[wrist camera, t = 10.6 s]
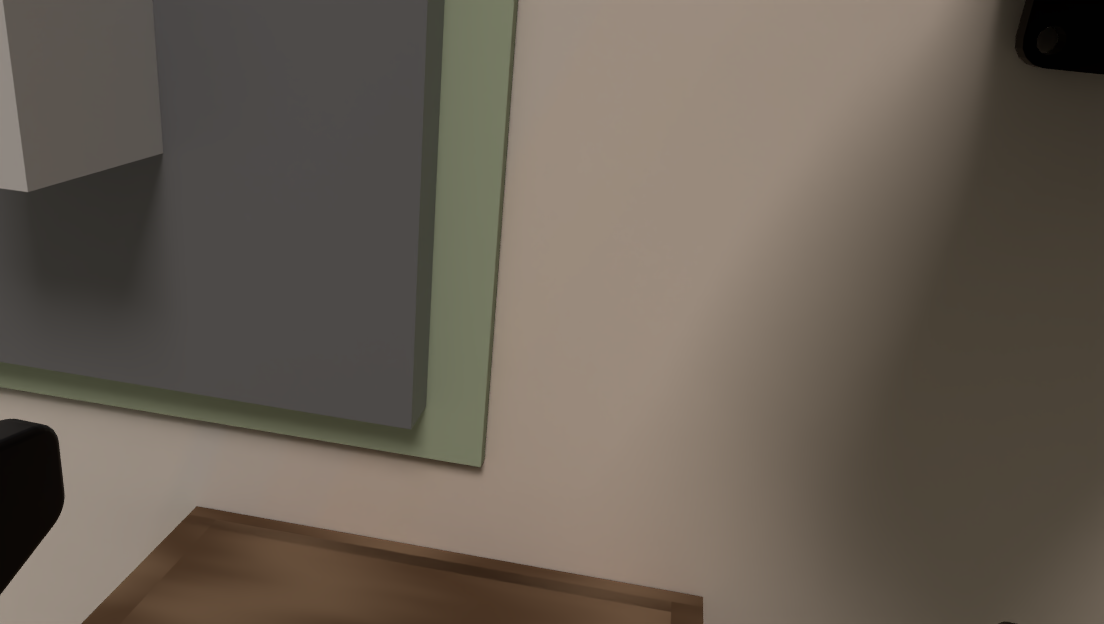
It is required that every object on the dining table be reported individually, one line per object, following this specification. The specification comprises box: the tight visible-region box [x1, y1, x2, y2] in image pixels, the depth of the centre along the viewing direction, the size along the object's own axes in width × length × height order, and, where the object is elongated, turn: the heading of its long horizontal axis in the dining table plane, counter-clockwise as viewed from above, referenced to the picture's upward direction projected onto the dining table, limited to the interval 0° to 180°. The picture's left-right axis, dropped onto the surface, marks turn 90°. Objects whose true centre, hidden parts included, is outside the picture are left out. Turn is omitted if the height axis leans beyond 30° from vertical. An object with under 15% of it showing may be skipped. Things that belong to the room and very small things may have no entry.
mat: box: [0, 0, 518, 467], centre depth 19 cm, size 18×18×1 cm
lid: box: [0, 0, 445, 429], centre depth 17 cm, size 15×15×5 cm
